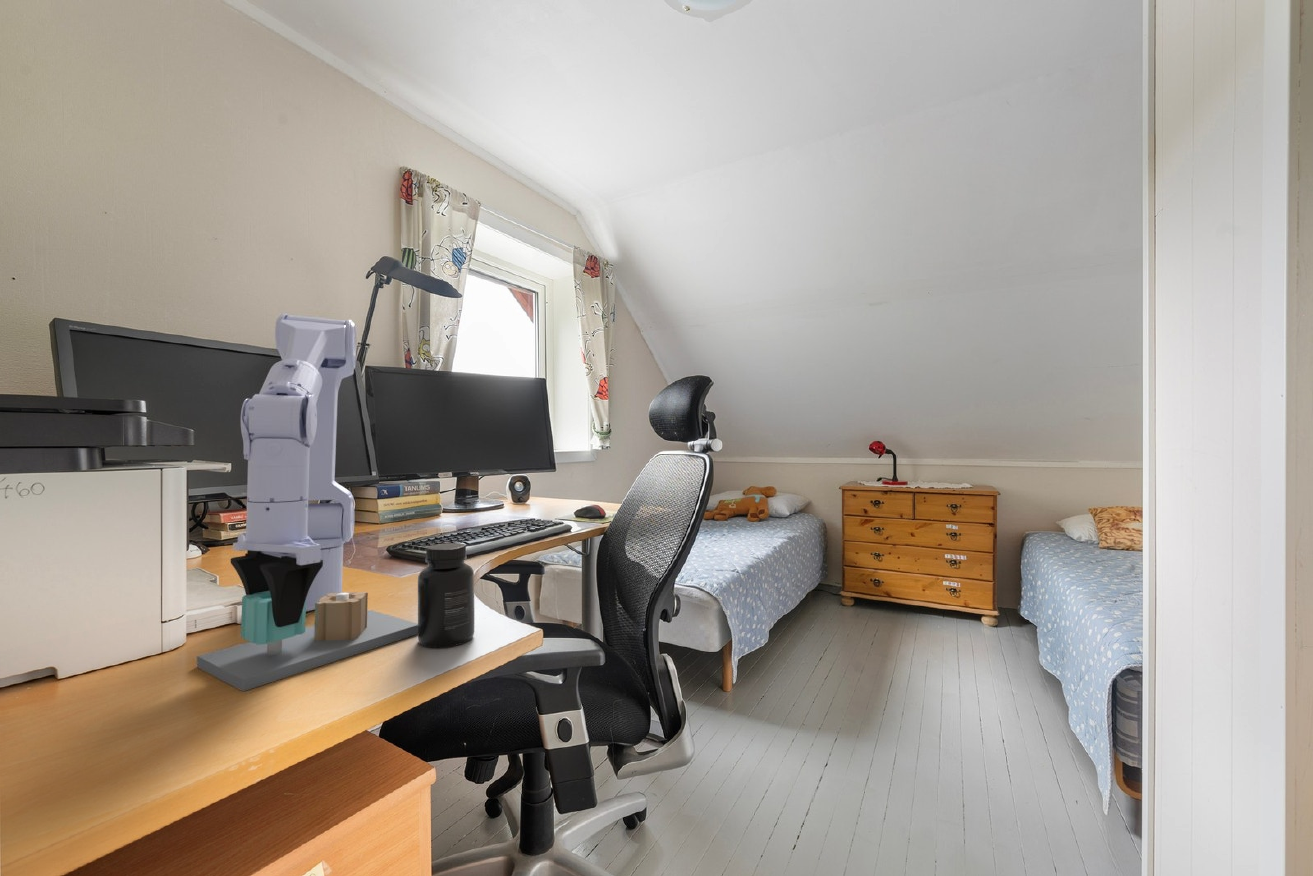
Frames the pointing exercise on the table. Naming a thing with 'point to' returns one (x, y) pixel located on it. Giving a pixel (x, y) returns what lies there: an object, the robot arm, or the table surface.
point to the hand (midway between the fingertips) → (275, 620)
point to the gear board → (309, 643)
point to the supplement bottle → (445, 597)
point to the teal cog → (265, 620)
